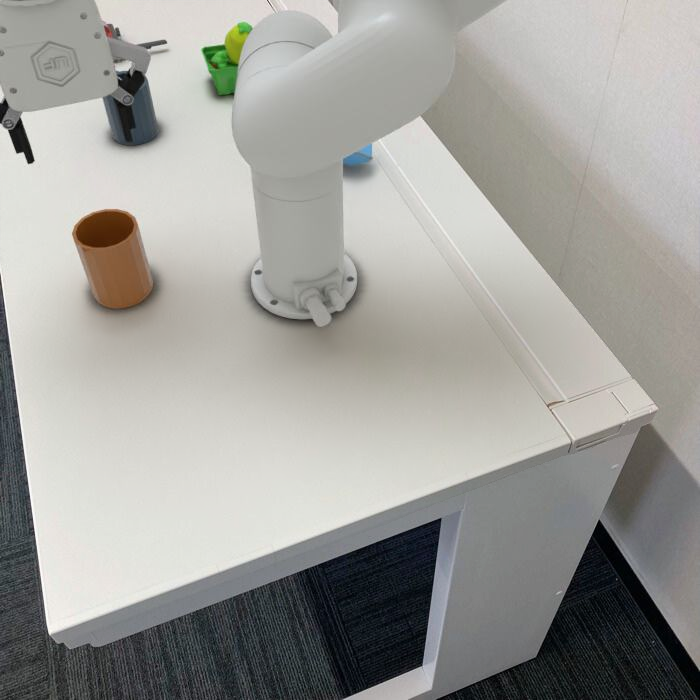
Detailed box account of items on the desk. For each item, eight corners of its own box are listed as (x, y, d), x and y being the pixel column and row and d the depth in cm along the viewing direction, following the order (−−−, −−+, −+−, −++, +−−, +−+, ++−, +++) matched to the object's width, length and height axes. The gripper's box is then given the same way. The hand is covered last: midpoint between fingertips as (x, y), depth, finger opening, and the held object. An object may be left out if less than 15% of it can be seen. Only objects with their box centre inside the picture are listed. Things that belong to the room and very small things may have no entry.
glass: (159, 298, 90) (143, 239, 84) (99, 315, 89) (79, 256, 82) (145, 261, 95) (129, 202, 88) (88, 277, 93) (67, 218, 86)
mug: (163, 139, 112) (152, 88, 106) (118, 149, 111) (104, 99, 105) (147, 107, 118) (136, 57, 112) (104, 116, 116) (90, 67, 110)
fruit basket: (274, 66, 126) (268, -3, 118) (286, 94, 120) (281, 23, 112) (204, 77, 124) (193, 7, 115) (214, 105, 118) (203, 34, 110)
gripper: (-81, 6, 60) (-7, 186, 73) (139, -29, 65) (172, 146, 77) (-86, -32, 65) (-16, 144, 77) (120, -62, 69) (154, 109, 82)
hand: (78, 145), depth 77 cm, fingers open, 9 cm apart
